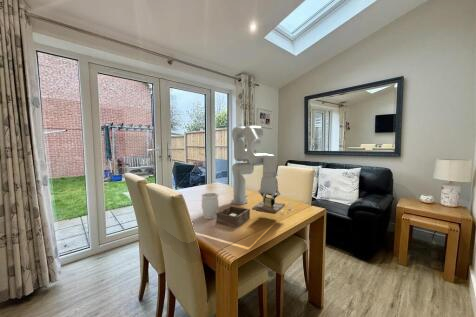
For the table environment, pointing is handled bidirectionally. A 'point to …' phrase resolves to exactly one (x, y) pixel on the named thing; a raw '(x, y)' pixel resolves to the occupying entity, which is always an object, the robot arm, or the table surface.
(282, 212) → the game piece set
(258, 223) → the table surface
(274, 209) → the lid
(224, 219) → the box
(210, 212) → the jar
